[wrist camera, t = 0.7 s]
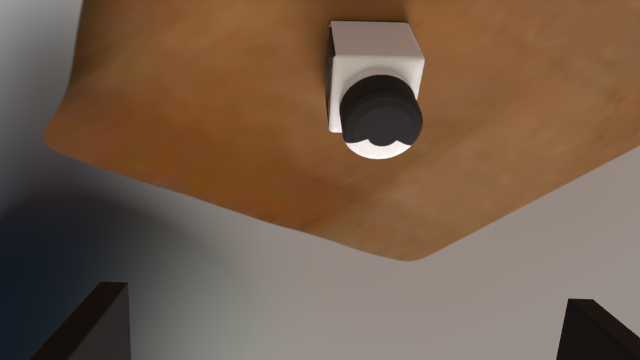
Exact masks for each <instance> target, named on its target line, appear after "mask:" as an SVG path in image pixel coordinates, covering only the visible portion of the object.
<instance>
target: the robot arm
mask: <svg viewBox="0 0 640 360" xmlns="http://www.w3.org/2000/svg"><path fill="white" fill-rule="evenodd" d="M30 360H131V348H130V324H129V299H128V283H122V282H100V283H99V284H98V285H97V286H96V288H95V289H94V290H93V291H92V292H91V293H90V294H89V295H88V296H87V297H86V299H85V300H84V301H83V302H82V303H81V304H80V305H79V306H78V307H77V308H76V310H74V312H73V313H72V314H71V315H70V316H69V317H68V318H67V319H66V320H65V322H64V323H63V324H62V325H61V326H60V327H59V328H58V329H57V330H56V331H55V332H54V333H53V335H52V336H51V337H50V338H49V339H48V340H47V341H46V342H45V343H44V344H43V346H42V347H41V348H40V349H39V350H38V351H37V352H36V353H35V354H34V355H33V356H32V357H31V359H30ZM556 360H640V338H639V337H638V336H637V335H635V334H634V333H633V332H632V331H631V330H630V329H628V328H627V327H626V326H625V325H623V324H622V323H621V322H620V321H618V320H617V319H616V318H615V317H614V316H612V315H611V314H610V313H609V312H607V311H606V310H605V309H604V308H603V307H601V306H600V305H599V304H598V303H596V302H595V301H594V300H593V299H568V303H567V308H566V313H565V318H564V323H563V328H562V333H561V338H560V343H559V349H558V353H557V358H556Z"/></svg>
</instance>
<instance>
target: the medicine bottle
mask: <svg viewBox="0 0 640 360" xmlns="http://www.w3.org/2000/svg"><path fill="white" fill-rule="evenodd" d="M424 62H425V59H424V56H423V54H422V52H421V50H420V48H419V46H418V43H417V41H416V39H415V37H414V35H413V33H412V30H411V28H410V26H409V24H408V23H400V22H358V21H331V22H330V23H329V25H328V41H327V59H326V77H325V97H326V107H327V117H328V126H329V130H330V131H331V132H342V135H343V138H344V141H345V143H346V144H347V146H348V147H349V148H350V149H351V150H352V151H354V152H355V153H357V154H358V155H361V156H363V157H367V158H372V159H385V158H390V157H393V156H396V155H398V154H400V153H402V152H404V151H405V150H407V149H408V148H409V147H410V146H411V145H412V144H413V143H414V142H415V141H416V140H417V138H418V137H419V134H420V132H421V129H422V124H423V119H422V113H421V111H420V108H419V106H418V103H417V97H418V92H419V87H420V82H421V77H422V72H423V67H424Z"/></svg>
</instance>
